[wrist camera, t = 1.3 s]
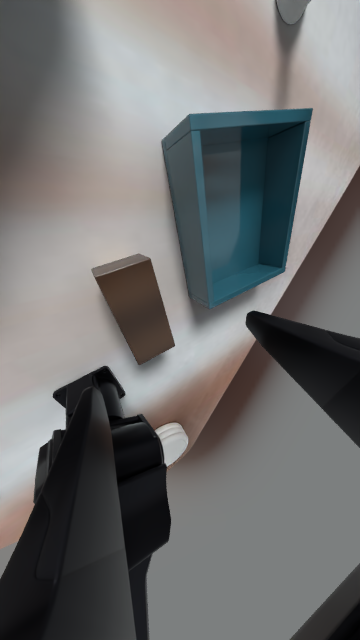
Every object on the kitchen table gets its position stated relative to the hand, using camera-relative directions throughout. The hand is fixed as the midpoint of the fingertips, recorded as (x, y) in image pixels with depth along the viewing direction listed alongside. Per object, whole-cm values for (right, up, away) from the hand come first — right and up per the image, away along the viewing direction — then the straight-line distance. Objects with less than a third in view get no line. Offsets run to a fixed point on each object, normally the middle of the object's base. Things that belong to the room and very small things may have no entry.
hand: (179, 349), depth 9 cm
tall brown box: (-6, +4, +10) cm, 13 cm away
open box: (+6, +14, +12) cm, 19 cm away
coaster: (-4, -24, +27) cm, 36 cm away
